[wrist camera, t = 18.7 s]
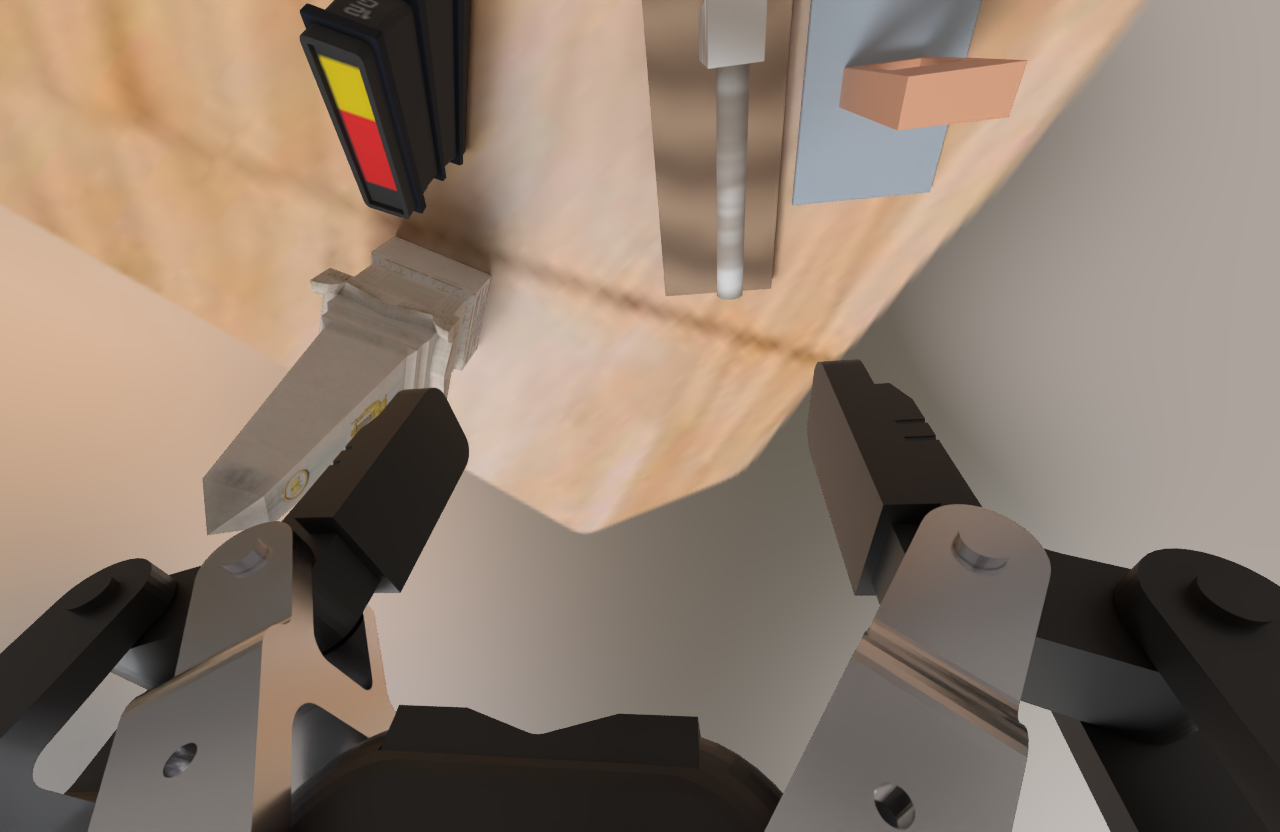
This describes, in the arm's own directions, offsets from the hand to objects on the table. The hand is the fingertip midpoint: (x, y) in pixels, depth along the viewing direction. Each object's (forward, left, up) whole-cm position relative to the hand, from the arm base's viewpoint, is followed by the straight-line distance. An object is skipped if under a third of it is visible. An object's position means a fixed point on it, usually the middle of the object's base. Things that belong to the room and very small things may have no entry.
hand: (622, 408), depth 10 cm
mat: (-2, +16, -35) cm, 39 cm away
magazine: (-5, -17, -36) cm, 40 cm away
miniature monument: (+12, -25, -36) cm, 45 cm away
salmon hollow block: (-2, +16, -35) cm, 38 cm away
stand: (+2, +4, -35) cm, 36 cm away
